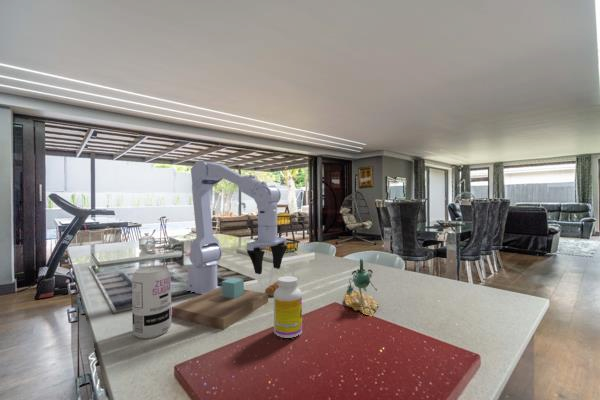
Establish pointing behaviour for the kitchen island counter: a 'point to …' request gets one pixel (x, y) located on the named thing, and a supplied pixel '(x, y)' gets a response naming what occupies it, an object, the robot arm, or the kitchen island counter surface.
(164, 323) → the supplement can
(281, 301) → the supplement bottle
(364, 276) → the frog figurine
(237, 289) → the teal block
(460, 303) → the kitchen island counter surface
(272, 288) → the pastry
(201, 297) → the walnut pocket plate
